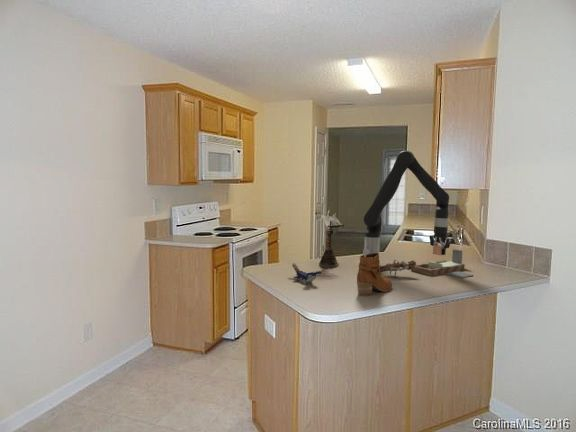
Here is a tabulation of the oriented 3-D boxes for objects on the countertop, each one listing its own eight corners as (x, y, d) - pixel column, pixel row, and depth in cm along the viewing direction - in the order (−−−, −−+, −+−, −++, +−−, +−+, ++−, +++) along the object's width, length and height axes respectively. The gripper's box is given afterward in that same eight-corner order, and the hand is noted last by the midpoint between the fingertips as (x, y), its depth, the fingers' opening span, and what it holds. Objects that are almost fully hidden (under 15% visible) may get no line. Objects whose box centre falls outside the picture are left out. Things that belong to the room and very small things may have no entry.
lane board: (430, 275, 224) (430, 270, 224) (411, 270, 236) (411, 265, 236) (464, 269, 240) (464, 264, 239) (444, 265, 251) (444, 260, 251)
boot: (384, 285, 205) (385, 248, 203) (399, 289, 197) (400, 251, 195) (349, 292, 191) (350, 253, 189) (363, 297, 183) (364, 256, 181)
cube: (439, 255, 234) (440, 246, 234) (432, 253, 238) (433, 245, 238) (445, 254, 237) (445, 246, 236) (438, 253, 241) (438, 244, 241)
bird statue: (347, 268, 242) (349, 210, 238) (328, 270, 237) (329, 210, 234) (335, 262, 257) (336, 208, 254) (316, 264, 252) (317, 208, 249)
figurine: (363, 261, 226) (412, 252, 225) (365, 275, 230) (413, 267, 229) (367, 270, 217) (418, 261, 216) (369, 285, 221) (419, 276, 220)
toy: (304, 292, 202) (306, 273, 199) (284, 272, 221) (286, 255, 218) (321, 289, 207) (324, 271, 204) (300, 270, 226) (302, 253, 223)
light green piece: (441, 270, 232) (441, 254, 231) (428, 267, 240) (428, 251, 239) (464, 266, 244) (465, 250, 243) (452, 263, 251) (452, 248, 250)
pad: (462, 278, 220) (462, 277, 219) (446, 274, 228) (446, 273, 228) (473, 275, 225) (473, 274, 225) (457, 272, 233) (457, 271, 233)
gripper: (426, 224, 240) (425, 252, 242) (447, 227, 228) (445, 257, 230) (435, 223, 244) (433, 251, 246) (455, 226, 232) (453, 255, 234)
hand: (439, 254), depth 238 cm, fingers closed on cube, 5 cm apart
